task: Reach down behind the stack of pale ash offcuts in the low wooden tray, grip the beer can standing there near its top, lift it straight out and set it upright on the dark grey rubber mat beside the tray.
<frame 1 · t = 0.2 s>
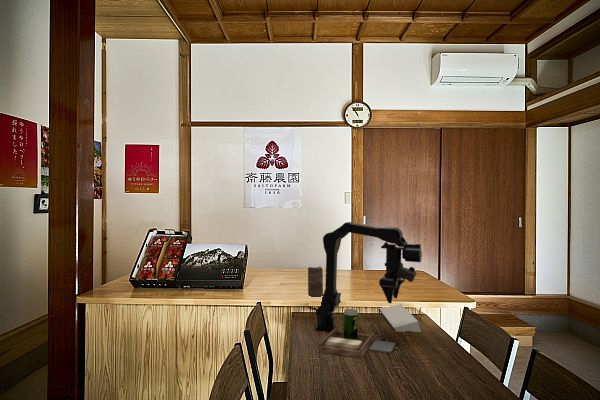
hand: (392, 300, 173), 14 cm above the table, tool pointing down, fingers open, 9 cm apart
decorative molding: (397, 321, 198), on the table
wooden tray: (347, 346, 163), on the table
beer can: (350, 343, 167), resting in wooden tray
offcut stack: (343, 350, 158), resting in wooden tray
grey rubber mat: (382, 347, 162), on the table
dark brown tall block: (315, 308, 217), on the table
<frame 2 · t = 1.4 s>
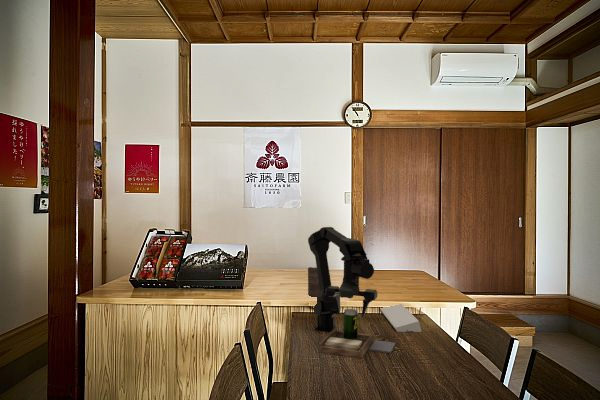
hand: (350, 315, 167), 10 cm above the table, tool pointing down, fingers open, 9 cm apart
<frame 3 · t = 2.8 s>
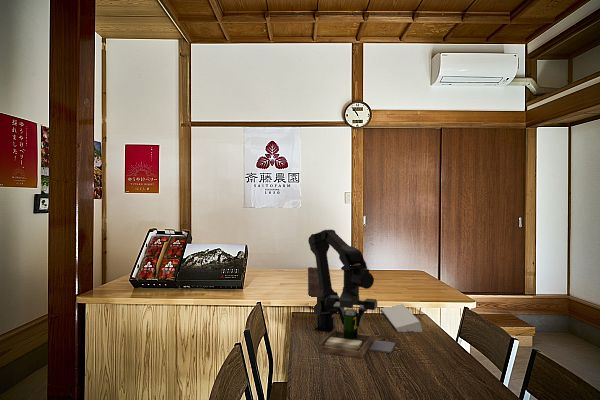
hand: (350, 325, 167), 7 cm above the table, tool pointing down, fingers closed on beer can, 5 cm apart
beer can: (350, 343, 167), resting in wooden tray, touching gripper
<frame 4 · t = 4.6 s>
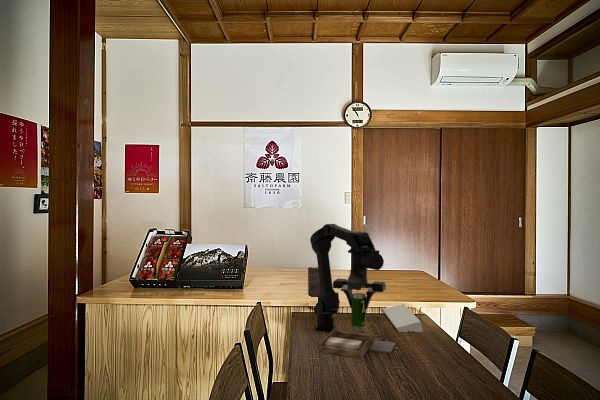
hand: (358, 308, 165), 13 cm above the table, tool pointing down, fingers closed on beer can, 5 cm apart
beer can: (358, 327, 165), point 6 cm above the table, touching gripper
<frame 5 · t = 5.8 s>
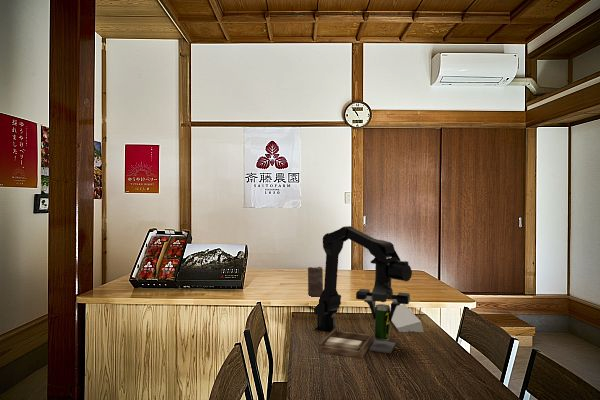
hand: (382, 319, 162), 10 cm above the table, tool pointing down, fingers closed on beer can, 5 cm apart
beer can: (382, 339, 162), point 3 cm above the table, touching gripper
when the fingers open (8 cm above the table, at t = 6.9 s): beer can stays where it is, resting on grey rubber mat.
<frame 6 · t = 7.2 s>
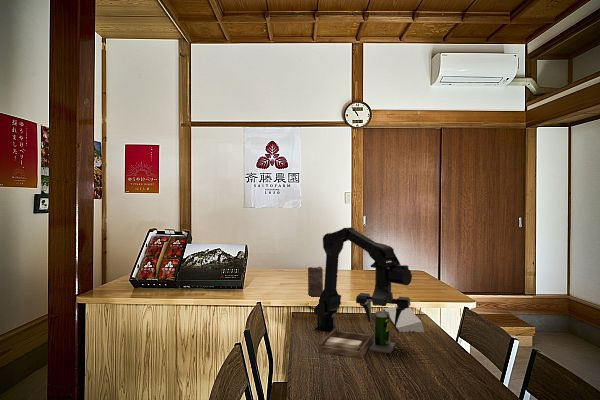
hand: (382, 324, 162), 8 cm above the table, tool pointing down, fingers open, 9 cm apart
beer can: (382, 346, 162), resting on grey rubber mat
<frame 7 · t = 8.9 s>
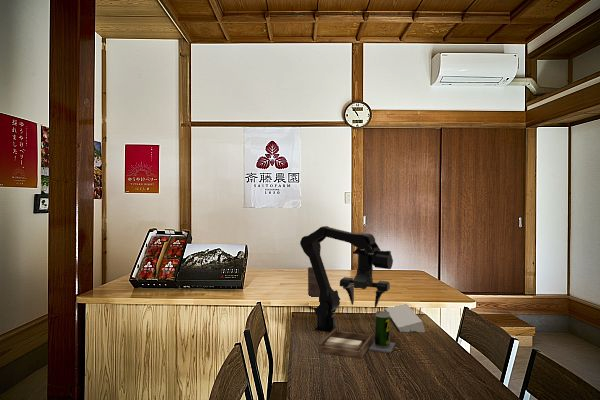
hand: (363, 306, 175), 12 cm above the table, tool pointing down, fingers open, 9 cm apart
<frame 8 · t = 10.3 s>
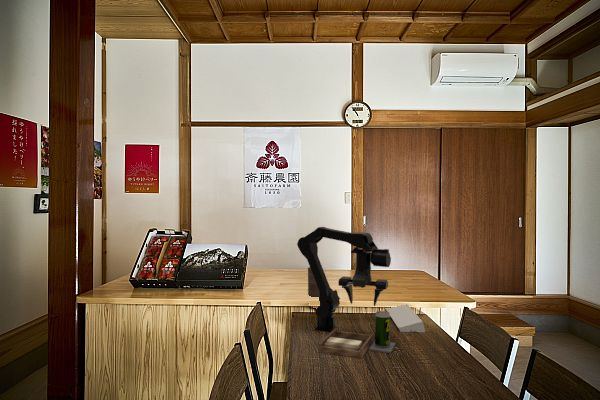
hand: (362, 304, 176), 12 cm above the table, tool pointing down, fingers open, 9 cm apart
at the end: beer can 0.1 cm off-centre on the grey rubber mat, point 0.4 cm above the grey rubber mat's base; beer can tilted 0°; the gripper is holding nothing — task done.
